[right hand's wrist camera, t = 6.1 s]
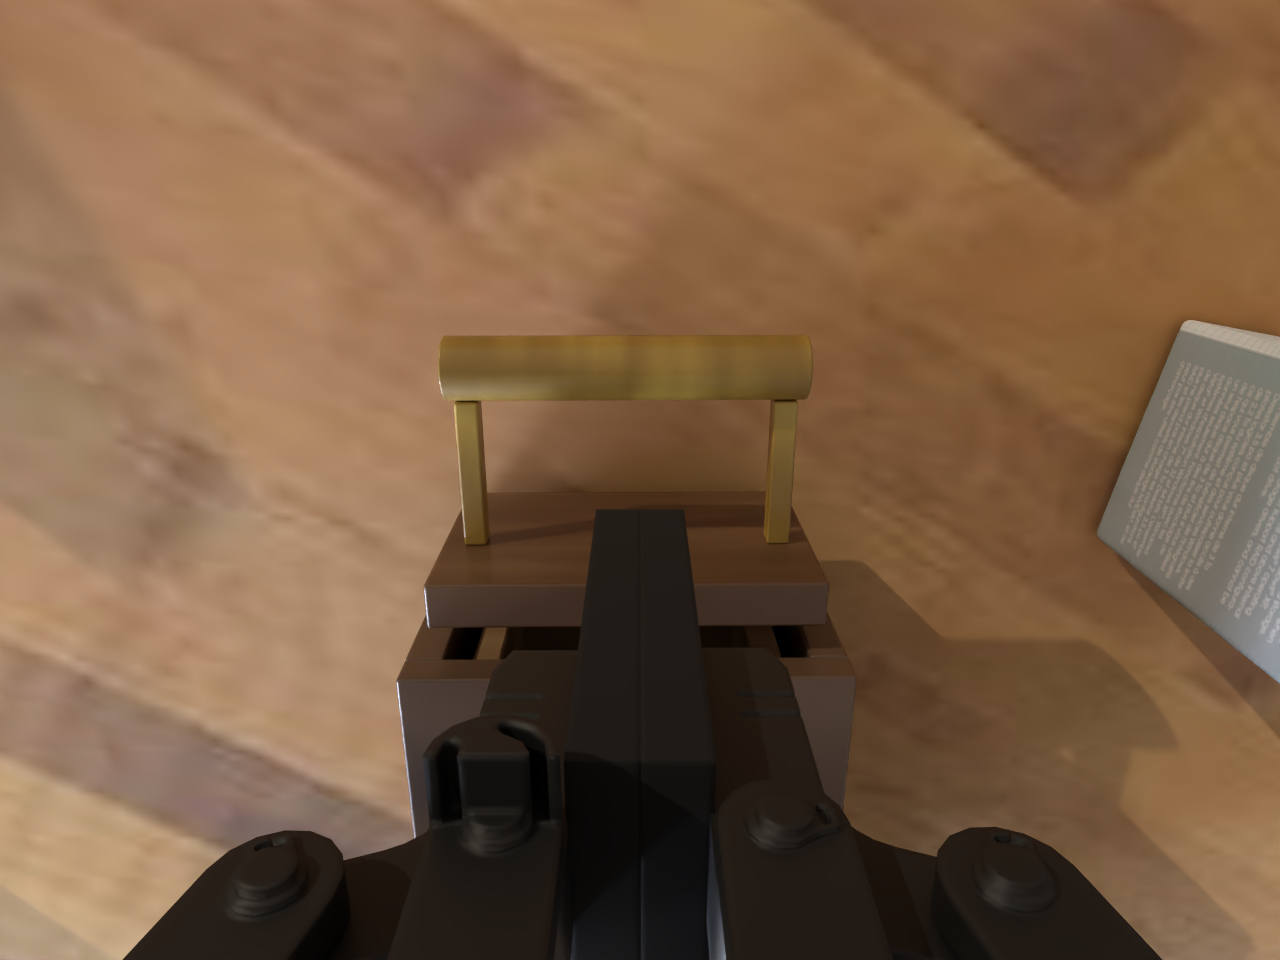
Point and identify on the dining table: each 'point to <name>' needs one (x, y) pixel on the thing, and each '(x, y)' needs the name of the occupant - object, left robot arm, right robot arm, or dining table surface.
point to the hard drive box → (1209, 487)
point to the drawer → (563, 522)
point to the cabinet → (456, 684)
